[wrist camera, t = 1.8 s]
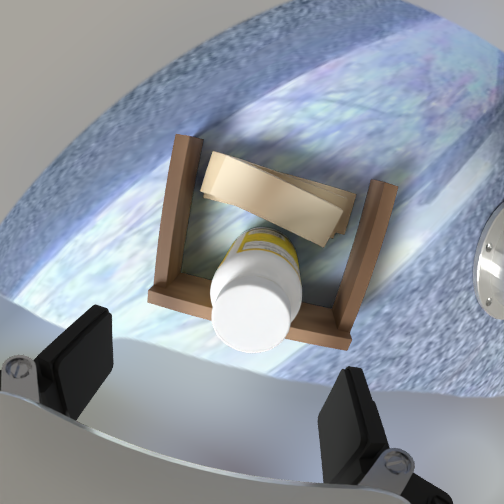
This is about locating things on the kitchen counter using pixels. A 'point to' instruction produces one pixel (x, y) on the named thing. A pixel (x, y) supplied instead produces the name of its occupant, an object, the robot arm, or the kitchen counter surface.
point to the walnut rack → (198, 289)
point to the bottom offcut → (346, 194)
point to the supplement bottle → (256, 291)
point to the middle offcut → (327, 195)
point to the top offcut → (276, 200)
